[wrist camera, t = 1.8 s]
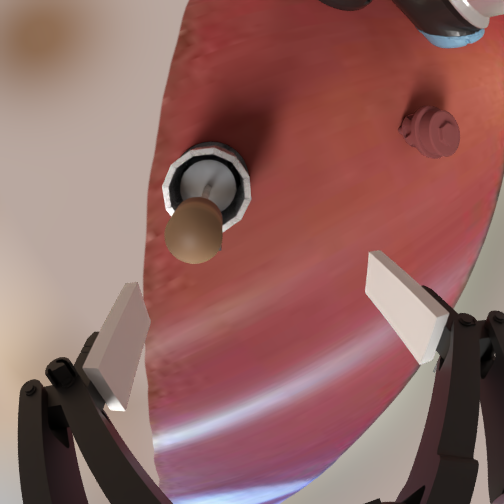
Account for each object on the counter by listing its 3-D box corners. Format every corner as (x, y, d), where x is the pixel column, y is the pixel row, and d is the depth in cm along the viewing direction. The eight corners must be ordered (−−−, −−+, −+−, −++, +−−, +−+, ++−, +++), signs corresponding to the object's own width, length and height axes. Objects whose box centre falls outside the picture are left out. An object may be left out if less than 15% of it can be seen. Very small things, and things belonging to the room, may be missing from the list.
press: (170, 147, 45) (152, 151, 33) (245, 138, 45) (252, 138, 34) (181, 231, 51) (170, 259, 40) (251, 223, 52) (259, 250, 40)
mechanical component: (411, 98, 44) (434, 136, 47) (382, 124, 46) (408, 162, 49) (450, 95, 32) (473, 142, 36) (420, 125, 35) (446, 173, 38)
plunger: (177, 163, 38) (133, 192, 19) (233, 157, 38) (241, 178, 19) (184, 216, 41) (154, 287, 22) (237, 210, 42) (250, 278, 23)
